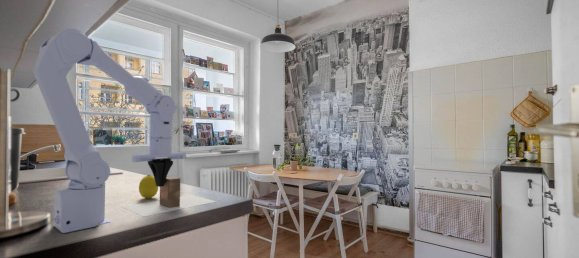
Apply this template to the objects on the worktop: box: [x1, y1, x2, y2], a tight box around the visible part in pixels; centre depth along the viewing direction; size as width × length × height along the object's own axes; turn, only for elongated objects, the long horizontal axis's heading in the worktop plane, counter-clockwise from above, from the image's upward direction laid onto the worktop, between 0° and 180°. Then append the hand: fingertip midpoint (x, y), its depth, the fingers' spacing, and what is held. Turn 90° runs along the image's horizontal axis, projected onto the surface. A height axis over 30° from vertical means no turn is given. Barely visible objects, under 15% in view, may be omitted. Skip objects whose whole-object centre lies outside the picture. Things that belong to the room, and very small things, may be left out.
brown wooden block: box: [159, 175, 181, 208], centre depth 87 cm, size 3×6×8 cm, turn 50°
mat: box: [121, 194, 217, 217], centre depth 88 cm, size 22×14×1 cm, turn 140°
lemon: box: [138, 174, 159, 200], centre depth 95 cm, size 6×6×8 cm
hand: (160, 186), depth 85 cm, fingers closed
